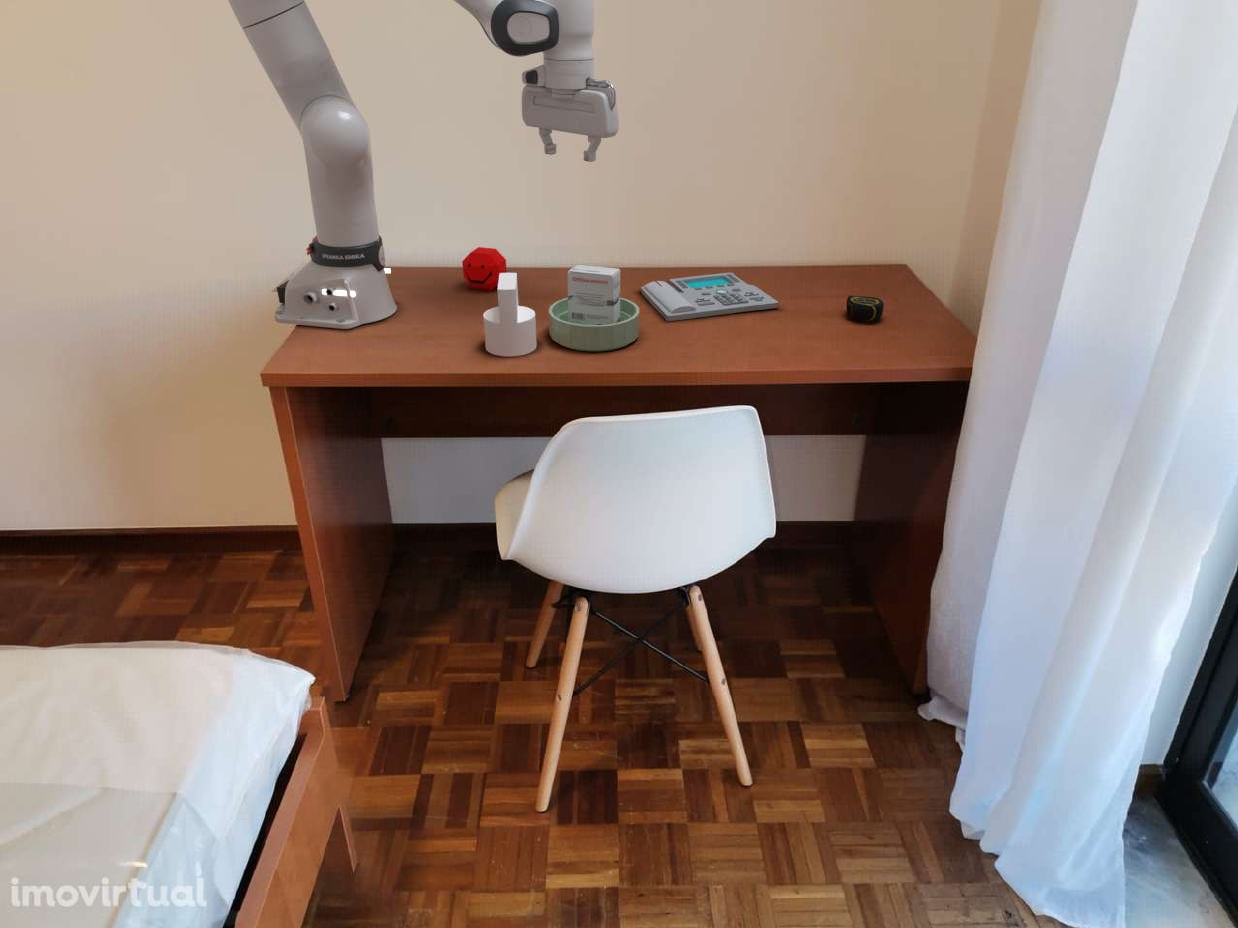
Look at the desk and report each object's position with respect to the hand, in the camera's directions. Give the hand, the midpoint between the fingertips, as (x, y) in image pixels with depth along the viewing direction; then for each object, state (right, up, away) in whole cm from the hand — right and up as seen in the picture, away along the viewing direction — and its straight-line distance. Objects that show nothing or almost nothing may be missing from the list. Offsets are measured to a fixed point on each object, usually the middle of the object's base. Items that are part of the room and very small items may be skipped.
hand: (569, 157), depth 166 cm
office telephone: (+26, -23, +17) cm, 39 cm away
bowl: (+5, -33, -1) cm, 33 cm away
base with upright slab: (-10, -36, -6) cm, 37 cm away
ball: (-19, -20, +22) cm, 35 cm away
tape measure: (+56, -28, +8) cm, 63 cm away
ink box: (+5, -33, -1) cm, 33 cm away
